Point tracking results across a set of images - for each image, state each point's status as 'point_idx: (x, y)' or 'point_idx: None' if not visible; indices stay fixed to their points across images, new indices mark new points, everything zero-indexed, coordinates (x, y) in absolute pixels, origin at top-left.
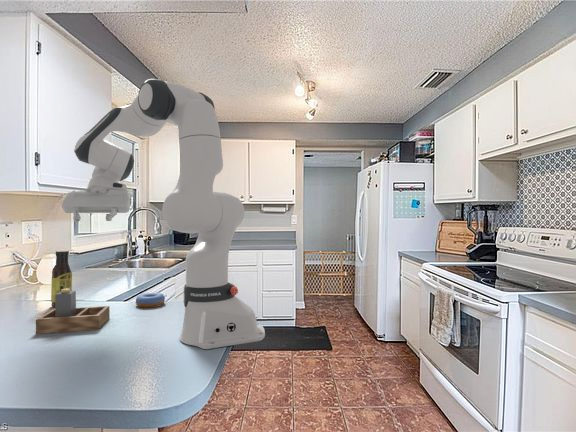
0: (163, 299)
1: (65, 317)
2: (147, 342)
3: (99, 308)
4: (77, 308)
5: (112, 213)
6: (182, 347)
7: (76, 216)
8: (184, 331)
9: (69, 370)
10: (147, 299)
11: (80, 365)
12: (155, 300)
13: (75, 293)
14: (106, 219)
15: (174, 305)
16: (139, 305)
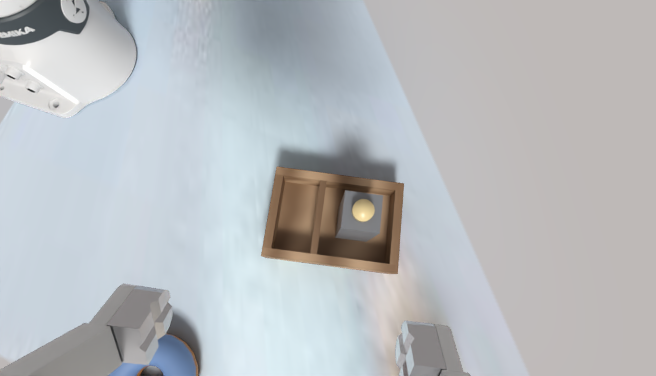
0: None
1: (345, 177)
2: (190, 70)
3: (285, 250)
4: (337, 257)
5: (72, 335)
6: (139, 29)
7: (427, 335)
8: (121, 34)
9: (295, 7)
10: (158, 339)
11: (284, 17)
12: None
13: (340, 226)
14: (166, 300)
15: None
16: (189, 347)
